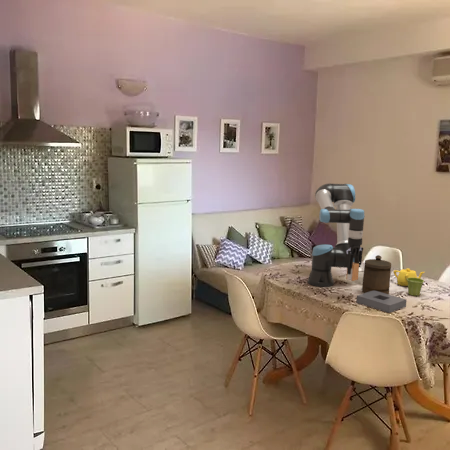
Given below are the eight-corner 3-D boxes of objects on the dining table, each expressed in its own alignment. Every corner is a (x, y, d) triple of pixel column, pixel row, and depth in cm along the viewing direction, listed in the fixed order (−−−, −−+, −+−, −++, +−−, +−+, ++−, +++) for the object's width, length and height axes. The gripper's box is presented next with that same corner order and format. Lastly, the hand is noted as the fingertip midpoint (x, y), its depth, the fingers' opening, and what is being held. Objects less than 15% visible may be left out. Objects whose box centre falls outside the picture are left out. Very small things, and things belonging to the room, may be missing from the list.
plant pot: (424, 293, 297) (425, 279, 296) (421, 298, 289) (422, 283, 288) (407, 290, 302) (408, 276, 300) (403, 295, 294) (405, 280, 292)
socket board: (356, 302, 278) (356, 295, 277) (373, 297, 288) (373, 290, 288) (389, 312, 263) (389, 305, 262) (405, 306, 273) (406, 299, 273)
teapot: (410, 281, 322) (411, 265, 320) (424, 287, 310) (425, 270, 308) (391, 282, 318) (392, 266, 316) (404, 288, 306) (405, 272, 304)
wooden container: (391, 292, 299) (395, 255, 295) (384, 298, 286) (387, 260, 283) (366, 287, 307) (369, 251, 303) (358, 293, 294) (361, 256, 290)
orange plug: (346, 279, 285) (347, 263, 284) (351, 277, 288) (352, 262, 287) (353, 281, 282) (354, 265, 280) (357, 279, 285) (359, 263, 283)
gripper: (351, 240, 272) (348, 283, 277) (370, 236, 283) (367, 277, 288) (339, 238, 278) (336, 279, 282) (359, 234, 289) (356, 274, 293)
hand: (352, 278), depth 285 cm, fingers closed on orange plug, 4 cm apart
